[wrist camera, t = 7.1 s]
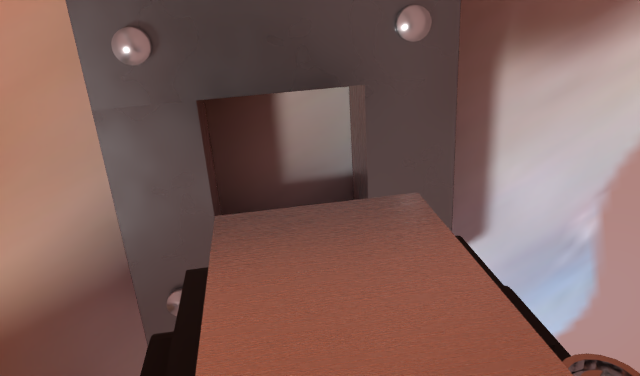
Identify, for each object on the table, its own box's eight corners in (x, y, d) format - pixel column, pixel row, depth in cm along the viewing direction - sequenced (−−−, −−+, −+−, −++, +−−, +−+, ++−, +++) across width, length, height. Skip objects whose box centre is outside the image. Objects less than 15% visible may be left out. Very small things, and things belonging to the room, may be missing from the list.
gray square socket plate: (87, -17, 19) (58, -16, 16) (431, -40, 20) (465, -44, 17) (158, 304, 24) (147, 351, 21) (426, 268, 25) (451, 307, 22)
